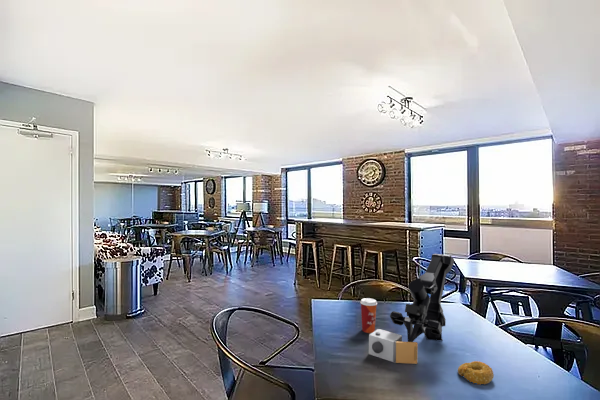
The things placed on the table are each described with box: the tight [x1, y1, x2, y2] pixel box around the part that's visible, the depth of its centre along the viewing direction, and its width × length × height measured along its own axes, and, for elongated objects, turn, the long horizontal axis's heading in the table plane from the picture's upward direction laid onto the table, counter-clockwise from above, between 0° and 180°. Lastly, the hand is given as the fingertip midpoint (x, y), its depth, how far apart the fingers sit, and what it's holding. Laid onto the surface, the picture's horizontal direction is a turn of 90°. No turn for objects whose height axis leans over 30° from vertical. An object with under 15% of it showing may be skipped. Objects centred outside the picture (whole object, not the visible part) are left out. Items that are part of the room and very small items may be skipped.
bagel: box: [457, 360, 495, 385], centre depth 114 cm, size 10×11×5 cm
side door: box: [393, 341, 419, 365], centre depth 123 cm, size 8×1×8 cm, turn 86°
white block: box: [368, 328, 403, 363], centre depth 130 cm, size 9×10×8 cm
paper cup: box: [359, 297, 378, 334], centre depth 154 cm, size 8×8×14 cm
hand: (409, 343), depth 125 cm, fingers closed
